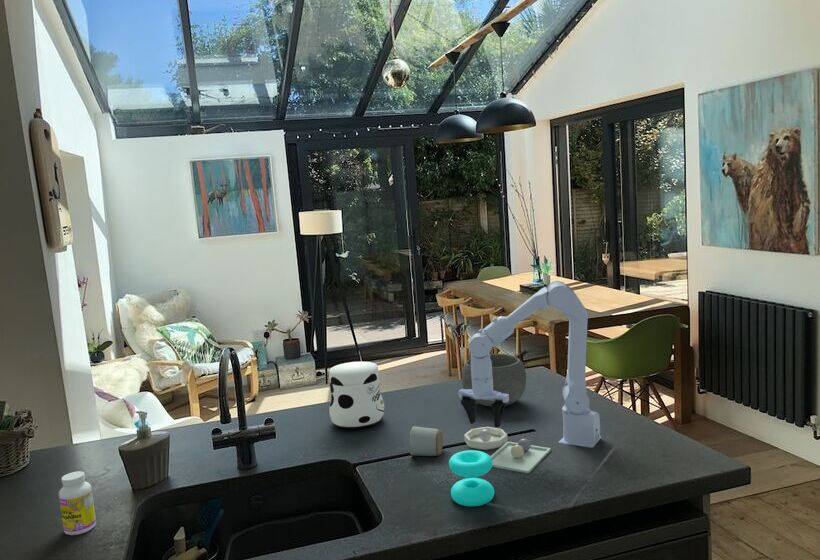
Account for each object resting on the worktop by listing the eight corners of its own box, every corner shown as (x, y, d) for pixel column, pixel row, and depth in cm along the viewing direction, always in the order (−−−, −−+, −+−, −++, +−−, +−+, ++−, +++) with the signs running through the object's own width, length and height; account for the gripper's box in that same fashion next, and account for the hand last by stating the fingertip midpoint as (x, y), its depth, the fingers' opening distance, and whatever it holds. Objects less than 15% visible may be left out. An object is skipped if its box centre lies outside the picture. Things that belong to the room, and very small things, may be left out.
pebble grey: (493, 439, 179) (493, 427, 179) (488, 444, 177) (487, 432, 176) (482, 438, 181) (481, 426, 181) (477, 442, 178) (476, 430, 178)
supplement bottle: (57, 536, 144) (49, 482, 142) (77, 521, 151) (69, 469, 149) (84, 536, 143) (76, 482, 141) (102, 521, 149) (95, 469, 148)
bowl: (533, 413, 200) (530, 366, 198) (465, 417, 200) (462, 371, 198) (522, 392, 221) (519, 350, 219) (461, 396, 221) (458, 354, 219)
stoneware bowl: (512, 438, 181) (512, 430, 180) (495, 453, 171) (495, 444, 171) (477, 433, 187) (476, 425, 186) (458, 447, 177) (458, 438, 177)
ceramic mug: (439, 460, 170) (437, 432, 169) (409, 459, 172) (407, 432, 171) (446, 445, 180) (445, 419, 179) (418, 444, 182) (416, 418, 181)
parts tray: (551, 452, 169) (550, 448, 169) (528, 475, 157) (528, 471, 157) (507, 445, 176) (507, 441, 176) (483, 467, 163) (482, 462, 163)
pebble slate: (533, 449, 171) (532, 437, 170) (528, 454, 168) (527, 442, 167) (521, 447, 172) (520, 435, 172) (516, 452, 170) (515, 440, 169)
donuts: (439, 456, 148) (473, 444, 153) (442, 497, 149) (476, 484, 154) (466, 470, 139) (501, 457, 145) (469, 513, 141) (503, 499, 146)
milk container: (396, 422, 200) (391, 366, 198) (347, 437, 191) (342, 379, 189) (367, 410, 215) (363, 357, 212) (321, 423, 205) (316, 368, 203)
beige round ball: (526, 456, 167) (525, 443, 166) (521, 461, 164) (520, 448, 164) (514, 454, 169) (513, 441, 168) (508, 459, 166) (508, 446, 165)
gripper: (452, 378, 177) (455, 426, 179) (500, 383, 169) (503, 433, 171) (463, 371, 183) (467, 417, 185) (510, 376, 175) (513, 424, 177)
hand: (485, 424), depth 178 cm, fingers open, 7 cm apart
